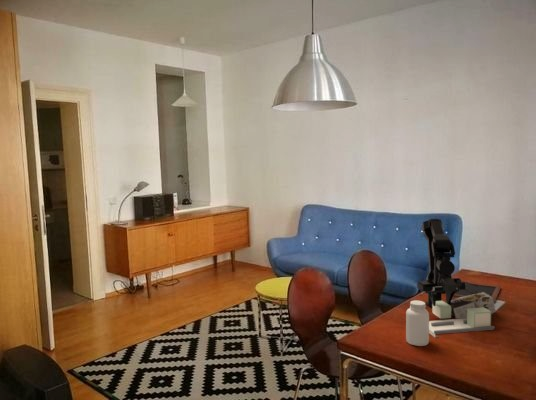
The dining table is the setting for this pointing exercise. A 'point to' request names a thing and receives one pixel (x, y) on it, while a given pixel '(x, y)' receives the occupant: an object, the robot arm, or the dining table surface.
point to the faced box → (478, 317)
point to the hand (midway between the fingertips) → (441, 305)
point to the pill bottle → (417, 324)
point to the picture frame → (478, 290)
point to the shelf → (453, 327)
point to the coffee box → (471, 304)
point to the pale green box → (441, 310)
